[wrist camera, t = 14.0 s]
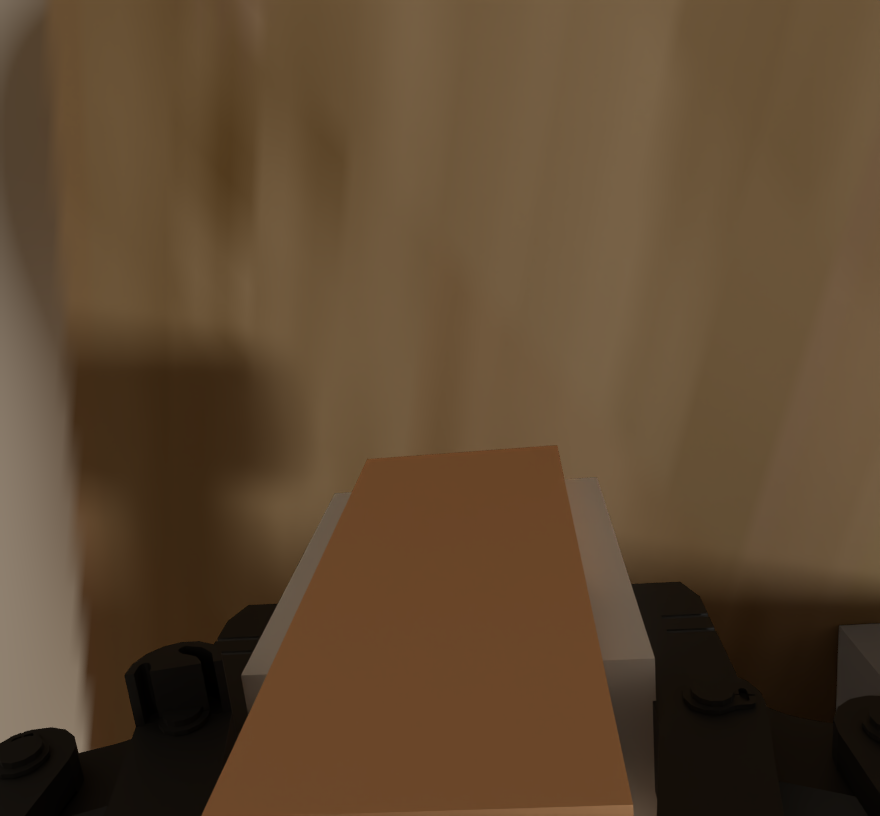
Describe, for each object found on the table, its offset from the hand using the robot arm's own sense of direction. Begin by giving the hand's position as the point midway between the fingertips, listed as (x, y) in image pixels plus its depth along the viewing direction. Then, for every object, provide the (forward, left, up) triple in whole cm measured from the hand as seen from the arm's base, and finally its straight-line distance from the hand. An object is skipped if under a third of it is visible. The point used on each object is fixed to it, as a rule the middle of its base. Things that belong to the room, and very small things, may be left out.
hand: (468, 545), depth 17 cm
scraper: (+6, 0, 0) cm, 6 cm away
